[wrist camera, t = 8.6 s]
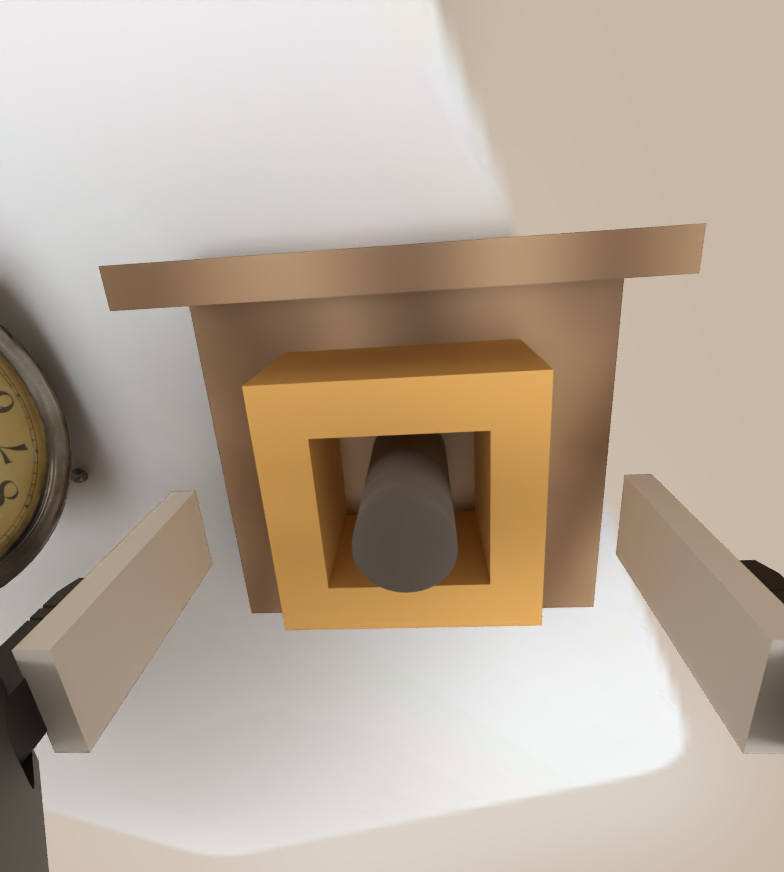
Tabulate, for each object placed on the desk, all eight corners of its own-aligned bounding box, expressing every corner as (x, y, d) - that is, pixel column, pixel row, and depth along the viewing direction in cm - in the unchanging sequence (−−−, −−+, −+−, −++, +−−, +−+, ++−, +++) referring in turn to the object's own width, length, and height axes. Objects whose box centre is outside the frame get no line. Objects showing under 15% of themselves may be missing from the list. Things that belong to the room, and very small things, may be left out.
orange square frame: (313, 550, 23) (285, 629, 18) (284, 352, 19) (241, 386, 15) (515, 544, 22) (541, 625, 17) (520, 338, 19) (553, 369, 14)
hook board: (259, 596, 25) (188, 750, 17) (193, 260, 19) (47, 269, 12) (585, 589, 24) (663, 751, 16) (615, 230, 18) (756, 219, 11)
